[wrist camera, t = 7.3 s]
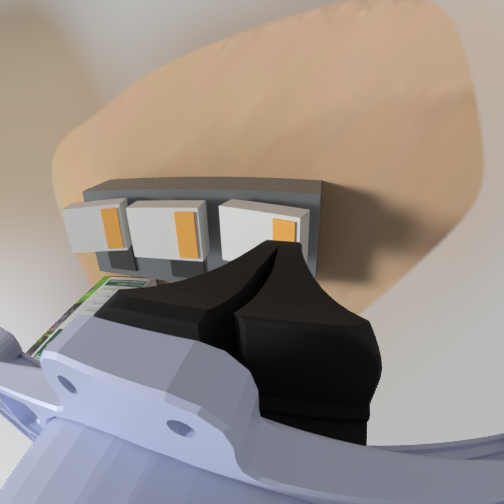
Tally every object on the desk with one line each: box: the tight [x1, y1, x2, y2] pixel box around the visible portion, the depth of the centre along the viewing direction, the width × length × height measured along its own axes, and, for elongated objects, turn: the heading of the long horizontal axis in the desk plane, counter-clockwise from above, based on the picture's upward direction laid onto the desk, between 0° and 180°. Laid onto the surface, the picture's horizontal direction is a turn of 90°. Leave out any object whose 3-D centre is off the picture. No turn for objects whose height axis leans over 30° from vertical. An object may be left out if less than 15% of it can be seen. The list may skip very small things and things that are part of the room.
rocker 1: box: [62, 198, 132, 253], centre depth 17 cm, size 3×4×1 cm
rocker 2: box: [126, 200, 210, 262], centre depth 15 cm, size 3×4×1 cm
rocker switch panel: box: [83, 177, 322, 282], centre depth 19 cm, size 6×15×4 cm, turn 91°
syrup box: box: [26, 277, 157, 361], centre depth 19 cm, size 6×6×14 cm
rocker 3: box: [219, 199, 310, 264], centre depth 14 cm, size 3×4×1 cm
